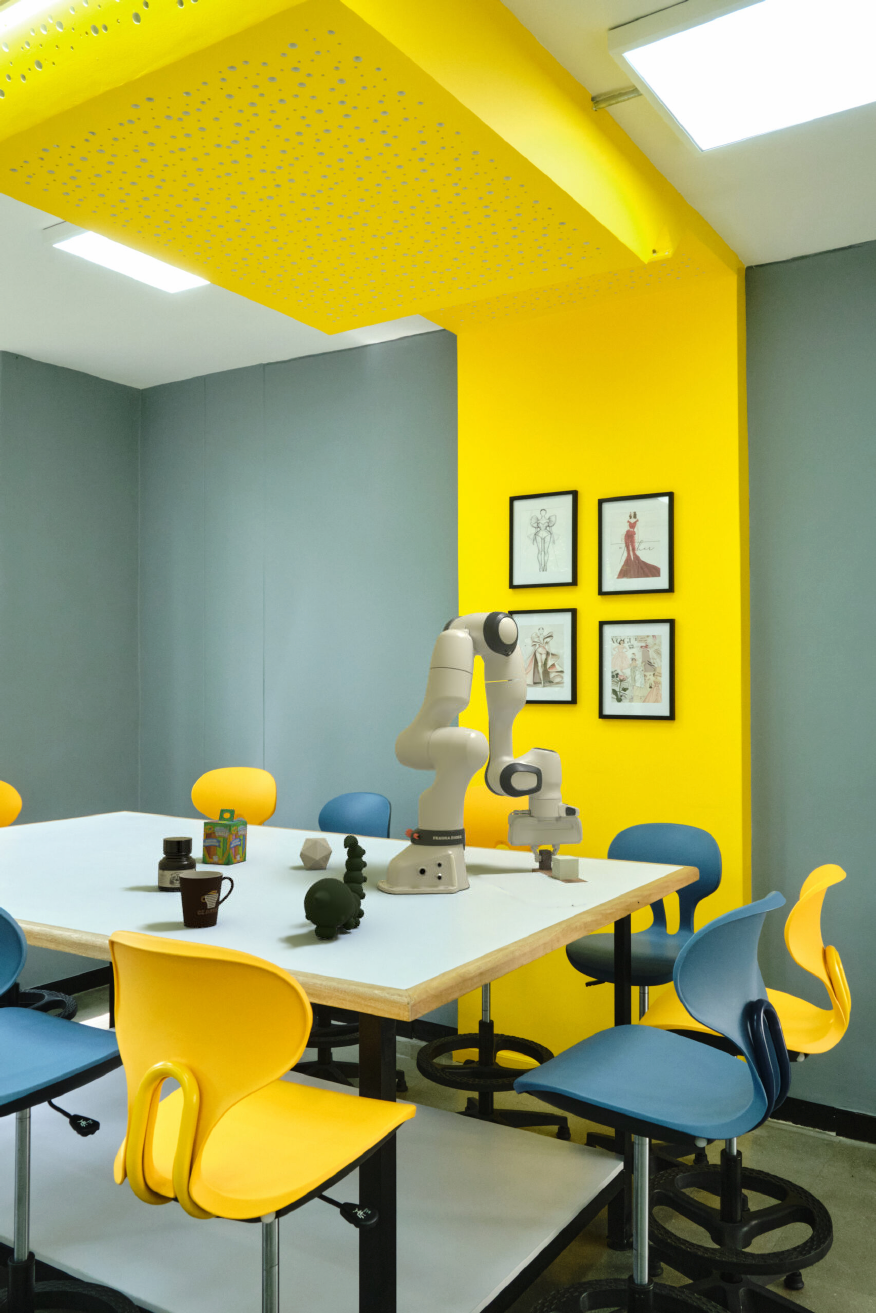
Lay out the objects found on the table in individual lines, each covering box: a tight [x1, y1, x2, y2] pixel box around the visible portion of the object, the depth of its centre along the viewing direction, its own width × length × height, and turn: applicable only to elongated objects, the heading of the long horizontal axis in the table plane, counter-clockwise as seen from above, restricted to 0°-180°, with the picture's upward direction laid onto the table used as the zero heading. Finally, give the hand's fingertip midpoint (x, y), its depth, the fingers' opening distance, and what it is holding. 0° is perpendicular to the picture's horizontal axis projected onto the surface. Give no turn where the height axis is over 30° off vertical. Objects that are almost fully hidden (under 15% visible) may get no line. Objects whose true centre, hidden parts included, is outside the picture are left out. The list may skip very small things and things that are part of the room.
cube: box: [552, 855, 580, 880], centre depth 245 cm, size 5×5×5 cm
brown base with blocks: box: [531, 848, 588, 884], centre depth 249 cm, size 6×22×6 cm, turn 16°
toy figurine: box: [303, 834, 368, 940], centre depth 190 cm, size 9×19×25 cm
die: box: [299, 837, 333, 870], centre depth 264 cm, size 8×9×10 cm
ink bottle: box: [157, 836, 197, 892], centre depth 234 cm, size 10×9×12 cm
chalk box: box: [201, 808, 248, 866], centre depth 274 cm, size 9×9×15 cm
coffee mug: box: [179, 870, 235, 929], centre depth 196 cm, size 12×9×10 cm
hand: (545, 861), depth 257 cm, fingers closed on brown base with blocks, 2 cm apart
